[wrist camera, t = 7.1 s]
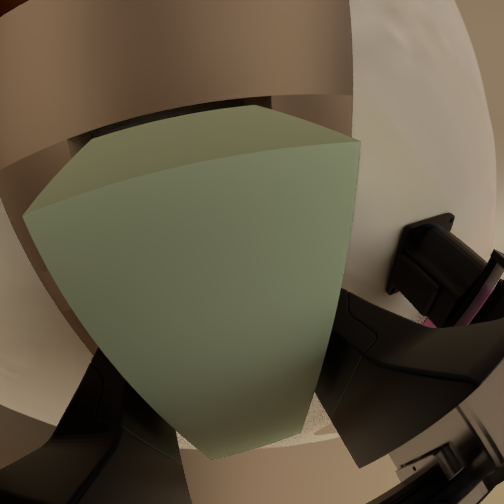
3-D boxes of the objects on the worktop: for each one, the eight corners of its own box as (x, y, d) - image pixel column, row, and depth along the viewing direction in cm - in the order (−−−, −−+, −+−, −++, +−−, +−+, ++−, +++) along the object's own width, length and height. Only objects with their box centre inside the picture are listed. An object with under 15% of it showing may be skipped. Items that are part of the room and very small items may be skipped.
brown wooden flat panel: (303, -13, 7) (345, -30, 5) (300, 322, 19) (319, 354, 17) (10, 41, 5) (-28, 37, 2) (135, 367, 17) (139, 405, 14)
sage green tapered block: (223, 97, 8) (360, 141, 3) (247, 315, 14) (300, 432, 9) (112, 120, 7) (22, 216, 2) (179, 333, 13) (211, 460, 8)
